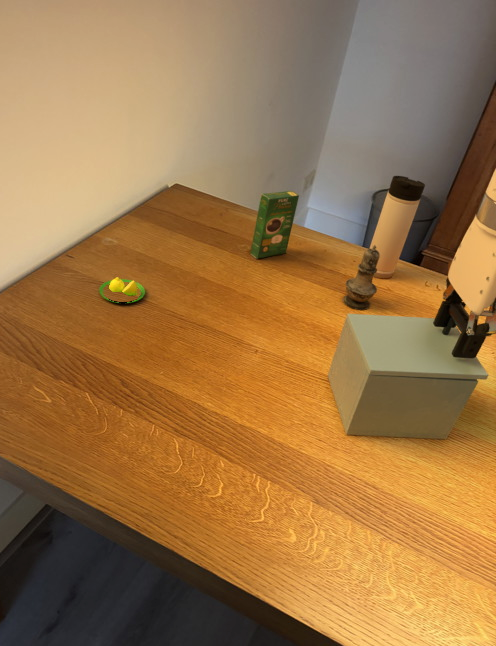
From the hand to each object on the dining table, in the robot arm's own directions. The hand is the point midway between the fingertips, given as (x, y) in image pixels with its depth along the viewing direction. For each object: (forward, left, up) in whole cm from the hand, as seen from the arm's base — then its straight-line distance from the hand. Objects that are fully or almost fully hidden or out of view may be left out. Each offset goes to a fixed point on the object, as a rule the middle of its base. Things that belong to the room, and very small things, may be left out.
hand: (453, 339), depth 74 cm
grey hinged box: (+6, 0, -13) cm, 14 cm away
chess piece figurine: (+3, -29, -13) cm, 32 cm away
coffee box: (+18, -46, -13) cm, 51 cm away
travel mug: (-5, -42, -13) cm, 44 cm away
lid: (+5, 0, -2) cm, 6 cm away
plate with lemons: (+47, -26, -13) cm, 55 cm away
